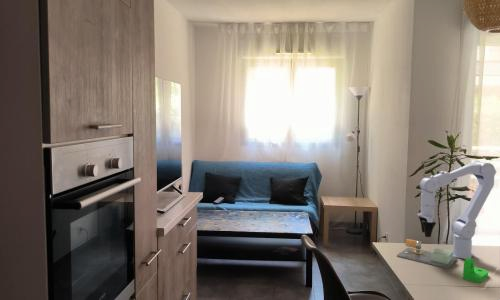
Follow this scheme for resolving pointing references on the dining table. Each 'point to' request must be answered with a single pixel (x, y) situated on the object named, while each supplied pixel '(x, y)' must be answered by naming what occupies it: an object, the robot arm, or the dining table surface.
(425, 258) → the latch plate
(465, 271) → the mechanical part
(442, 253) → the cover
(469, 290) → the dining table surface
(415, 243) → the t key
